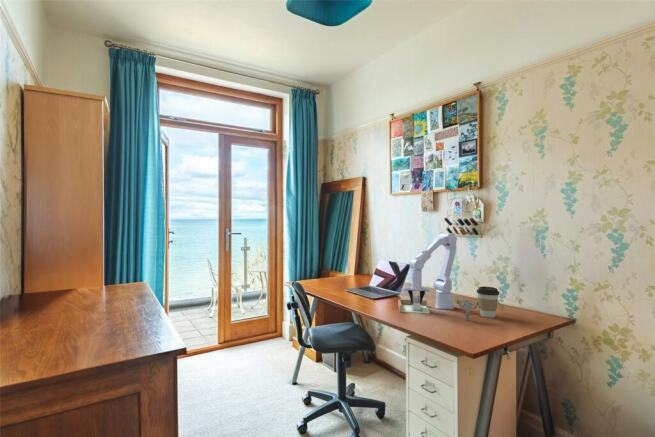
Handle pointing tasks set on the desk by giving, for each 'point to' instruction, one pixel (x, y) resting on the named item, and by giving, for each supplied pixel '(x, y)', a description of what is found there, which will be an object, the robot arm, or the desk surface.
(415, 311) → the corner arena
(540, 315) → the desk surface
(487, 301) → the coffee cup
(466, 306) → the mechanical component
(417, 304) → the bracket
